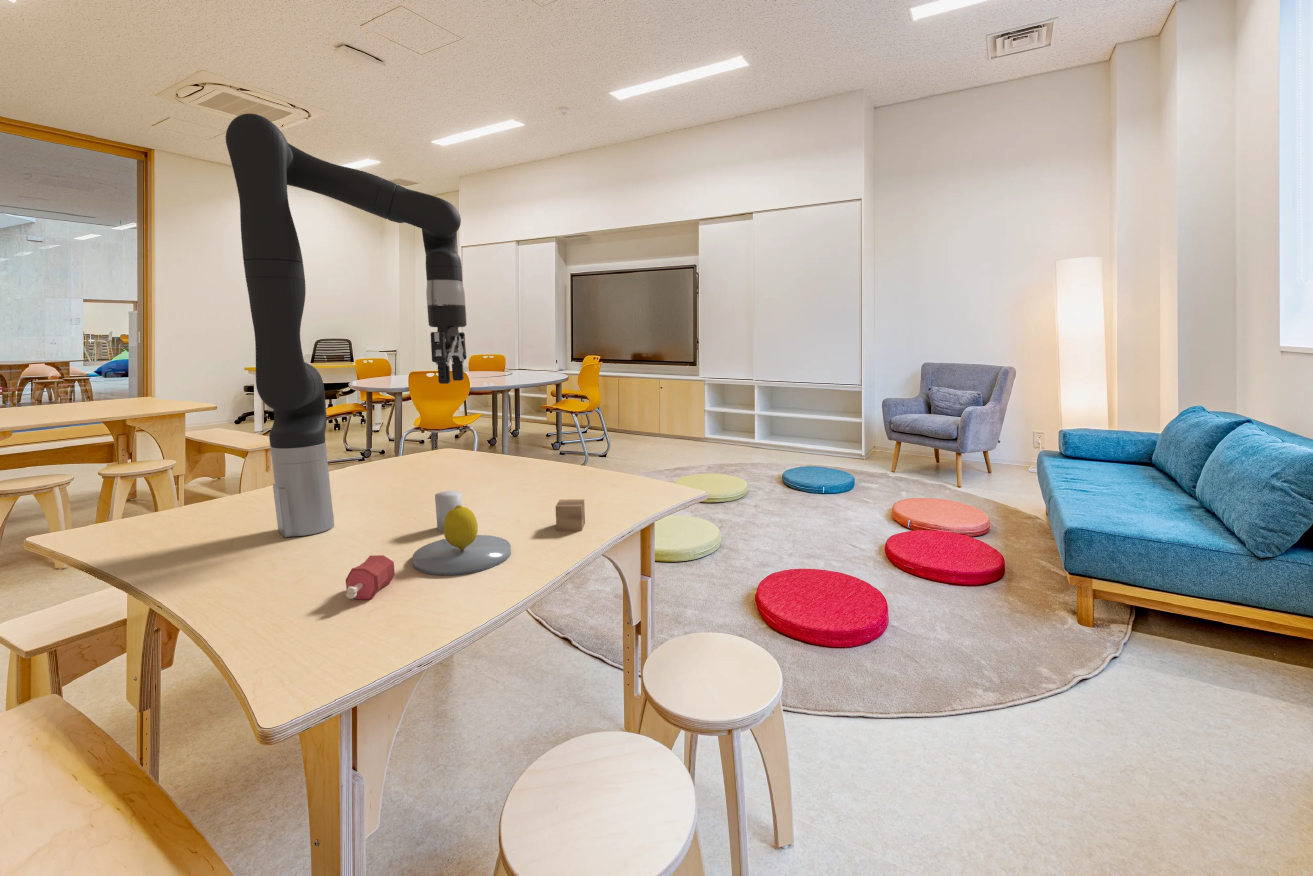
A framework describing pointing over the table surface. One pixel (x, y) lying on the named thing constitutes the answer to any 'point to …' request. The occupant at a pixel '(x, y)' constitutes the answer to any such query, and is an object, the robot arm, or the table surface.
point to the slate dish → (461, 556)
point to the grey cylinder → (446, 505)
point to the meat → (369, 577)
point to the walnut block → (570, 515)
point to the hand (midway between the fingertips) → (451, 381)
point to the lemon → (460, 527)
